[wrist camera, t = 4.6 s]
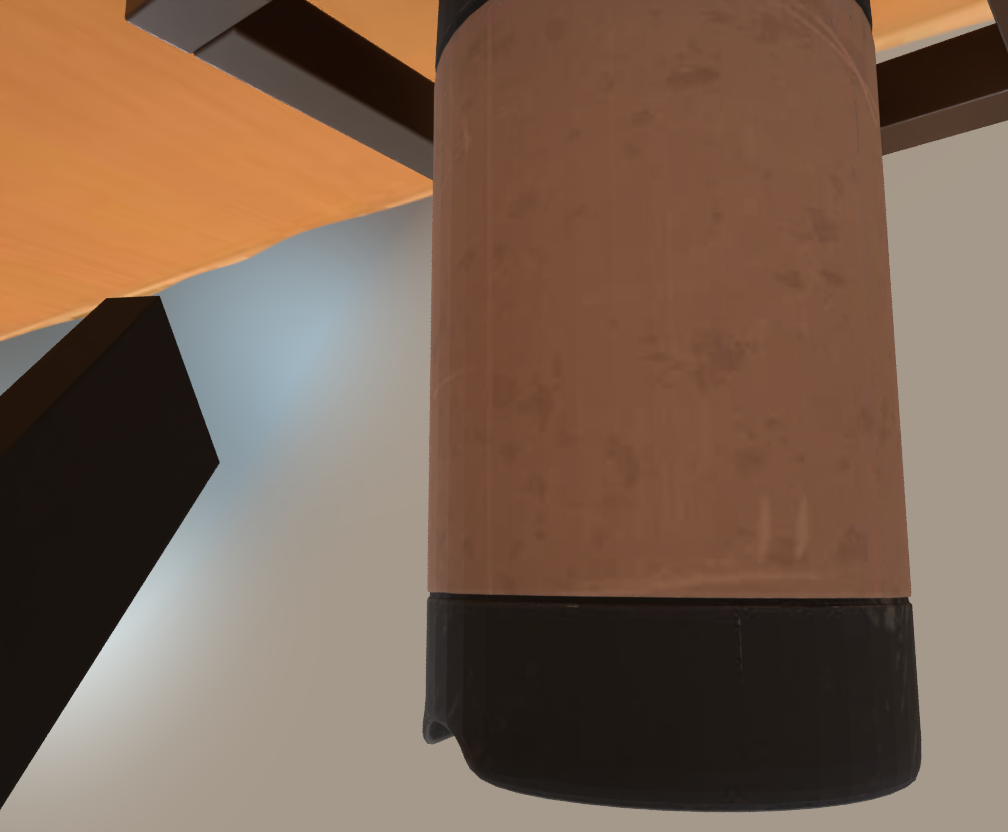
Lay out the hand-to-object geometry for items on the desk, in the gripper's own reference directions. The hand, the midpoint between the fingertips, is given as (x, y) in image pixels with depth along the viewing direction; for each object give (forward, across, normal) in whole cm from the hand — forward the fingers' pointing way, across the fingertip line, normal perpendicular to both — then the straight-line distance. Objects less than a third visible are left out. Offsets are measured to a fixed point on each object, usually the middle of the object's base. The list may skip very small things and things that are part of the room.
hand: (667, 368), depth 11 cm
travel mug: (+13, 0, +8) cm, 15 cm away
